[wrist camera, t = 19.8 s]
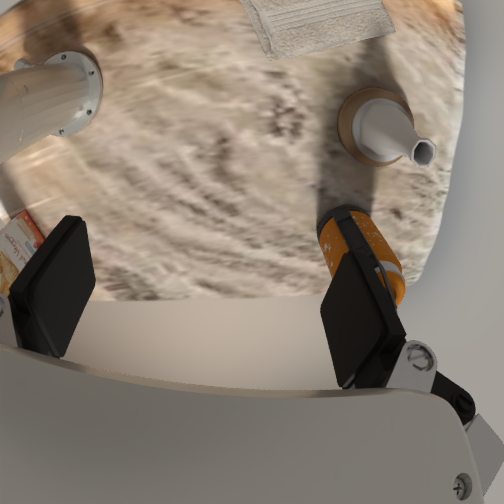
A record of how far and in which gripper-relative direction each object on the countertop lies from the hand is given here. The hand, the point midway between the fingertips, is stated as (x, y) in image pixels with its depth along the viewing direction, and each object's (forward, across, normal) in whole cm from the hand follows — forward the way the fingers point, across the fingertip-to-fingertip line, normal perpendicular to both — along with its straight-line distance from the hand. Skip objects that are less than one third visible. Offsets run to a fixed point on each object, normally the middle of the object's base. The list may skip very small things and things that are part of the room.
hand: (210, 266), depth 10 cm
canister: (+31, -19, +13) cm, 38 cm away
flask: (+27, -19, -3) cm, 33 cm away
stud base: (+30, -19, -3) cm, 36 cm away
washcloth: (+31, -8, -17) cm, 36 cm away
